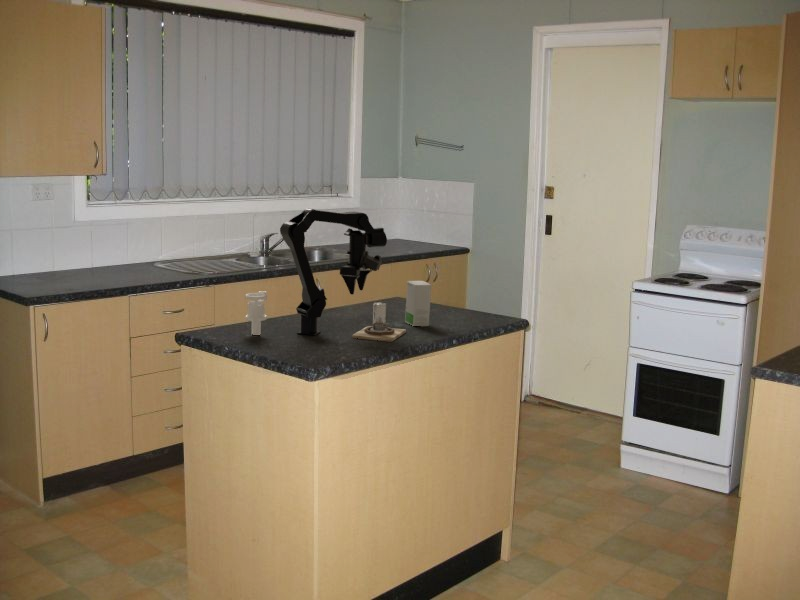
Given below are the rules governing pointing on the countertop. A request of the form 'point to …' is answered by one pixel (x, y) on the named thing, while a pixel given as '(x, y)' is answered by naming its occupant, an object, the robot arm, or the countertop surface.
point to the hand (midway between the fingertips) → (356, 292)
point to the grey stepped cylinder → (256, 310)
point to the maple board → (379, 334)
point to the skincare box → (418, 303)
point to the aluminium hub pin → (379, 317)
